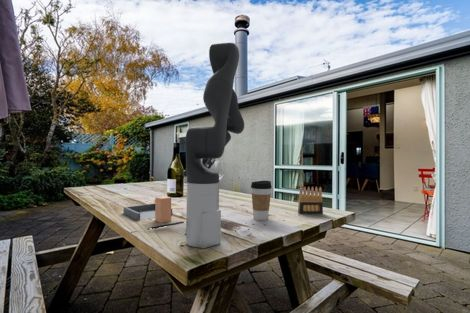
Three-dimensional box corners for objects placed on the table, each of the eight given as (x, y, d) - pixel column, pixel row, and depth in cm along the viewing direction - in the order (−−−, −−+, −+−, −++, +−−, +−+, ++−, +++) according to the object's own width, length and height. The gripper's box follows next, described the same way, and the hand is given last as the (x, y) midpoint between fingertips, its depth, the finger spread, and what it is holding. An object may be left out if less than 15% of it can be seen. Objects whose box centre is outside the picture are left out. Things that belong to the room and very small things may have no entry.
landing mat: (183, 223, 92) (183, 221, 92) (152, 229, 84) (152, 227, 84) (171, 218, 98) (171, 217, 98) (141, 223, 90) (141, 222, 90)
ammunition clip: (299, 214, 109) (299, 186, 109) (297, 213, 111) (298, 186, 111) (322, 213, 110) (323, 186, 110) (321, 212, 112) (321, 186, 112)
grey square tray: (172, 217, 100) (172, 208, 100) (137, 223, 91) (137, 213, 91) (156, 210, 111) (156, 203, 111) (123, 215, 102) (123, 207, 102)
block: (170, 222, 91) (171, 197, 91) (160, 224, 88) (160, 198, 88) (165, 219, 94) (165, 196, 94) (155, 221, 91) (155, 197, 91)
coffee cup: (275, 220, 98) (275, 181, 98) (256, 221, 95) (256, 182, 95) (265, 215, 106) (265, 180, 106) (246, 216, 103) (247, 180, 103)
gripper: (198, 143, 111) (174, 169, 103) (217, 141, 101) (193, 170, 93) (207, 155, 115) (185, 181, 107) (227, 154, 104) (204, 183, 96)
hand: (189, 176), depth 100 cm, fingers open, 8 cm apart
